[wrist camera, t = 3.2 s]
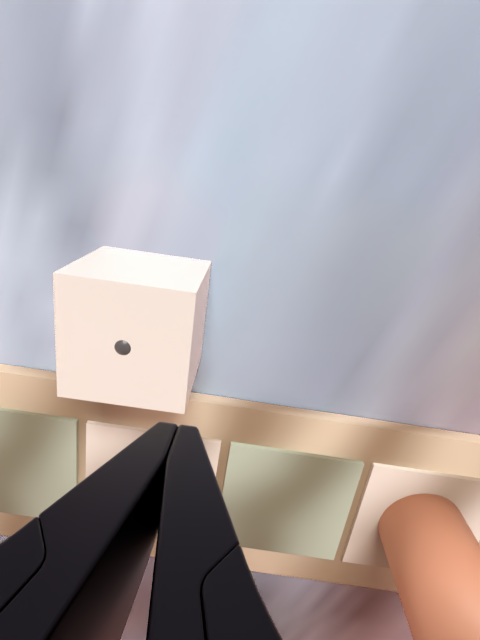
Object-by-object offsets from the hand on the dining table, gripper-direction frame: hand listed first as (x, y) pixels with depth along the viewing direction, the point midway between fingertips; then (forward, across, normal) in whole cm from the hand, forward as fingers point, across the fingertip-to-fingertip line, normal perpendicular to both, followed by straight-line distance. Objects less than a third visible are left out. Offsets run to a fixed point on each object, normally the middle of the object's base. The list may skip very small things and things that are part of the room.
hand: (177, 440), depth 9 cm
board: (+7, -1, +8) cm, 11 cm away
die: (+8, +2, 0) cm, 8 cm away
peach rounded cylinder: (+7, -10, +8) cm, 15 cm away
